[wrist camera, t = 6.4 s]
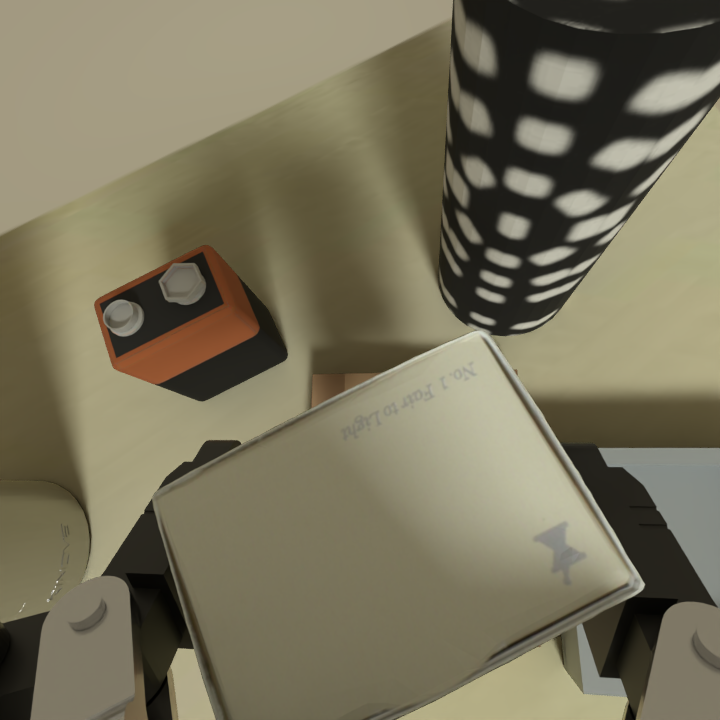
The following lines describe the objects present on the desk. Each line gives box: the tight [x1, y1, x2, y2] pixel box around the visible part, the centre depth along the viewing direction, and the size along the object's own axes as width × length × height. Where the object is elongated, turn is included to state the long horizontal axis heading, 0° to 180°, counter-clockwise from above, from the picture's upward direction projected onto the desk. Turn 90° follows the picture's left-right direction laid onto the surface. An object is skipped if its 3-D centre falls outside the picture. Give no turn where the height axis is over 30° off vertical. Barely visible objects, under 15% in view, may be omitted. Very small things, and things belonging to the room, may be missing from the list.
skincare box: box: [152, 329, 645, 720], centre depth 12 cm, size 6×4×12 cm
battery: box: [94, 245, 288, 401], centre depth 26 cm, size 4×7×10 cm, turn 116°
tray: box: [561, 448, 720, 697], centre depth 23 cm, size 11×11×3 cm
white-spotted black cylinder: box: [438, 0, 720, 336], centre depth 20 cm, size 8×8×20 cm
